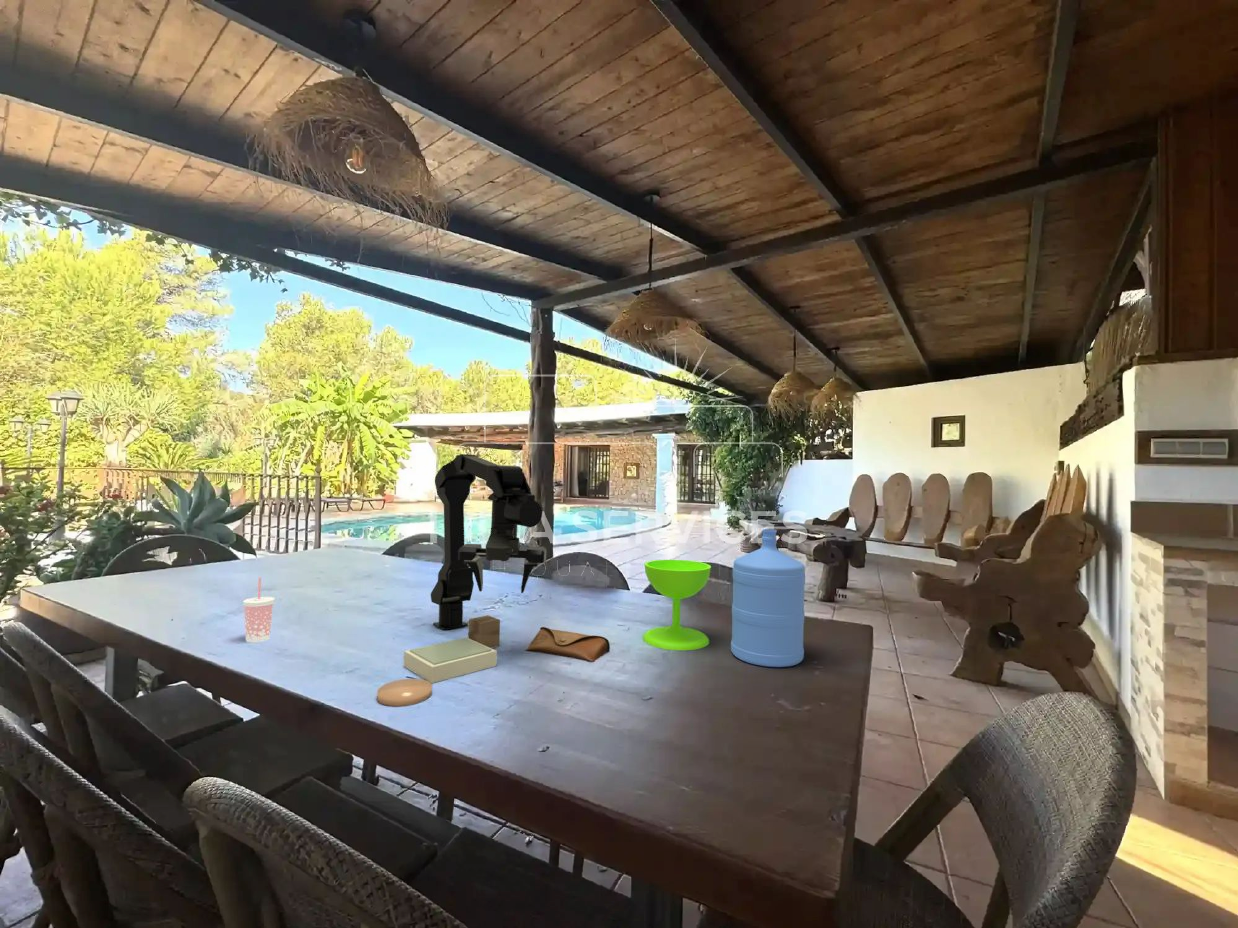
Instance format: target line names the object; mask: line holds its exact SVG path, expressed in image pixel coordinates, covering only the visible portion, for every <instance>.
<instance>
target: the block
mask: <svg viewBox="0 0 1238 928" xmlns="http://www.w3.org/2000/svg"><path fill="white" fill-rule="evenodd" d="M500 631H501V620H500V619H499V618H496V617H494V616H491V615H482V616H478V617H472V618H469V619H468V636H467V638H469V639H471V640H473V641H476V642H478V643H480V644H482V645H485V646H487V647H489V648H491V649H493V648H497V647H500V637H501V635H500Z"/></svg>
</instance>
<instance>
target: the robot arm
mask: <svg viewBox="0 0 1238 928" xmlns="http://www.w3.org/2000/svg"><path fill="white" fill-rule="evenodd" d="M523 471H524V469H522V467H521V466H518V465H503V464H502V465H501V464H498V463H494V462H491V461H490V460H486V459H483V458H481V457H479V456H478V455H476V454H466V453H462V454H461V453H460V454H457V455H456V456H455V457H454V459H453V460H451V461H449V462H447V463H446V464H444V465H442V466H441V467H440V469H439V470H438V472H437V473H436V475H435V477H434V485H435V487H436V495H437V497H438V498H439V500H440V501H441V503H442V505H443V533H444V535H443V536H444V537H443V538H444V539H443V540H444V547H443V548H444V563H443V564H442V565H441V568H440V569H439V571H438V574H437V582H436V584H435V586H434V587H433V589H432V590H431V592H430V599H431V603H433V604H435V605H438V621H435V622H432V626H435V627H437V628H439V629H441V630H444V631H447V630H453V629H459V628H460V627H461V628H462V627H467V626H468V627H469V622H465V621H463V619H464V617H463V616H464V614H463V613H464V602H466V601H467V602H468V601H471V598H472V594H473V590H474V584H475V583H474V578H475V582H476V585H477V588H478V591H479V592H482V591H483V587H484V586H483V585H484V576H483V575H484V572H483V571H484V570H483V569H484V568H483V567H484V563H483V562H484V561H483V560H484V558H483V557H485V560H487V562H488V561H490V562H492V561H501V562H507V561H509V560H510V559H525V560H526V561H525V563H524V564H523V573H522V574H523V575H522V580H521V586H520V593H521V594H523V593H524V592H525V589H526V587H527V583H528V581H529V579H530V578H529V577H530V575H531V573H532V571H533V569H534V567H539V565H540V564H544V563H545V561H546V560H547V548H546V547H545V546H538V545H537V546H533V545H530V546H528V547H527V548H526V549H520V548H521V541H520V537H518V526H521V527H526V528H534V527H535V526H537V525H538V524H540V521H541V520H542V517H543V510H542V507H541V505H540V503H539V502H537V501H536V496H535V494H532V491H531V490H532V488H531V487H530V485H529V483H528V481H527V478H526V476H525V473H524V472H523ZM477 478H479V479H481V480H482V481H485V486H487V488H488V489H490V490H491V491H492V493H491V494H490V495H489V496H487V499H488V501H492V502H491V524H490V526H491V527H490V531H489V534H490V535H489V536H488V539H487V541H486V544H485V547H483V548H482V544H480V543H465V510H464V508H465V507H464V506H465V505H464V504H465V502H466V501H467V499H468V497H469V495H470V494H471V485H473V484H474V482H475V480H477Z"/></svg>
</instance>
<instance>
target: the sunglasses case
mask: <svg viewBox="0 0 1238 928" xmlns="http://www.w3.org/2000/svg"><path fill="white" fill-rule="evenodd" d="M610 644H611V643H610V641H609V640H608V638H606V637H605V636H601V635H588V634H584V633H583V634H582V633H577V632H573V631H567V630H566V631H565V630H557V629H551V628H549V627H545V626H541V627H540V629H539V631H538V632H537V633H536V635H535V636H534V638H533V639H532V641H531V642H530V644H528V647H527V648H526V649H524V651H525V652H531V653H532V652H533V653H539V654H540V653H541V654H547V655H553V656H559V657H565V658H570V659H575V660H581V661H586V662H588V663H589V662H590V663H594V662H596V661H597V660H599V659H600V658H601V657H603V656H604V655H606V654H607V653H610V650H611V645H610Z"/></svg>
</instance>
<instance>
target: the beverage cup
mask: <svg viewBox="0 0 1238 928" xmlns="http://www.w3.org/2000/svg"><path fill="white" fill-rule="evenodd" d="M257 589H258V591H257V597H251V598H247V599H244V600H243V601H242V605H243V607H244V628H245V629H244V630H245V642H247V643H259V642H265V641H268V640H270V638H271V628H272V618H273V608H274V603H275V601H276V600H275V599H276V598H275V597H273V596H261V593H262V590H261V589H262V577H258V588H257Z"/></svg>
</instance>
